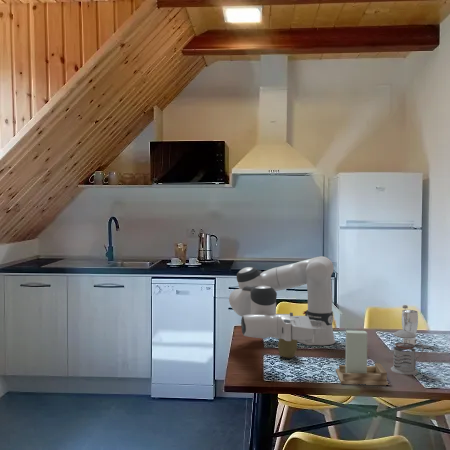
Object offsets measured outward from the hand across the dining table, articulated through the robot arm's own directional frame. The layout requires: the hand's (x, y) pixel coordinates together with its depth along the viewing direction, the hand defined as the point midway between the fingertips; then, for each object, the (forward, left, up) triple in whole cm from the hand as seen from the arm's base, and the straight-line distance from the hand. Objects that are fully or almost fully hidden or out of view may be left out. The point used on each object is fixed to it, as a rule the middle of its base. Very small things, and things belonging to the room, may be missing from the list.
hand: (323, 326), depth 173 cm
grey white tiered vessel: (+18, +29, -19) cm, 39 cm away
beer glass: (+3, +65, -19) cm, 68 cm away
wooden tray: (+10, +9, -19) cm, 23 cm away
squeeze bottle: (-24, +9, -18) cm, 32 cm away
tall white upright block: (+9, +8, -18) cm, 21 cm away
